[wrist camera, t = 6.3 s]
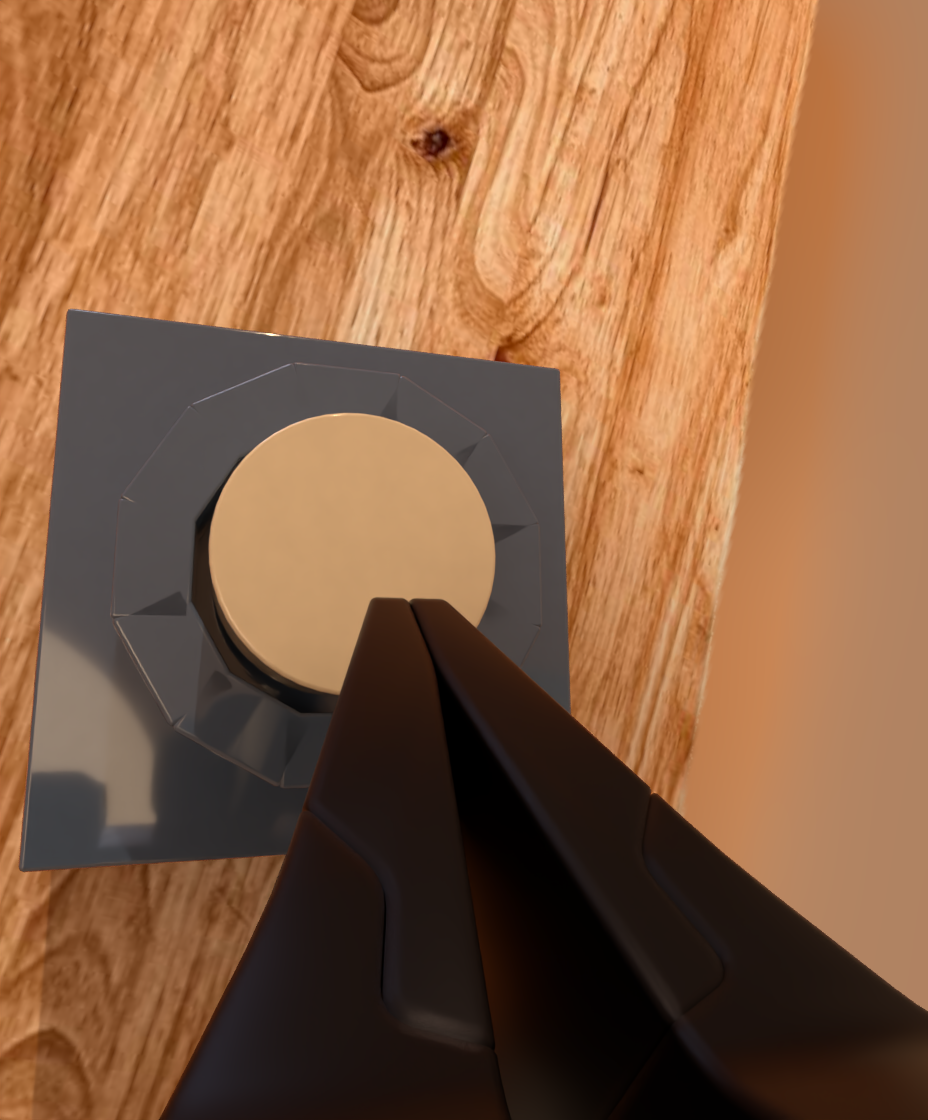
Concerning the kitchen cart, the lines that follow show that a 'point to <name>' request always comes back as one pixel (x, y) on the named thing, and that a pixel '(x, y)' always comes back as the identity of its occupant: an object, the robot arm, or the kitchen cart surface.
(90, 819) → the grey button base
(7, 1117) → the kitchen cart surface
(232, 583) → the tan push button
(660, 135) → the kitchen cart surface
